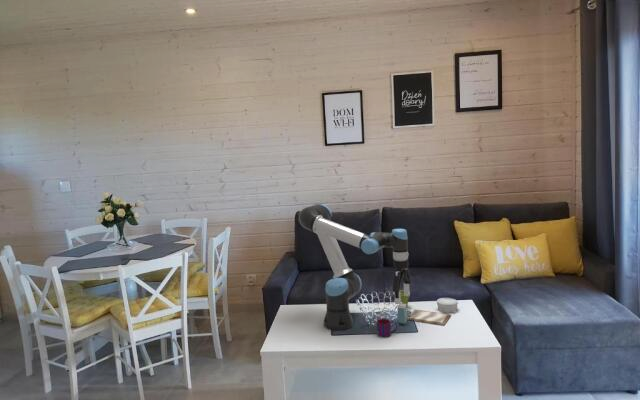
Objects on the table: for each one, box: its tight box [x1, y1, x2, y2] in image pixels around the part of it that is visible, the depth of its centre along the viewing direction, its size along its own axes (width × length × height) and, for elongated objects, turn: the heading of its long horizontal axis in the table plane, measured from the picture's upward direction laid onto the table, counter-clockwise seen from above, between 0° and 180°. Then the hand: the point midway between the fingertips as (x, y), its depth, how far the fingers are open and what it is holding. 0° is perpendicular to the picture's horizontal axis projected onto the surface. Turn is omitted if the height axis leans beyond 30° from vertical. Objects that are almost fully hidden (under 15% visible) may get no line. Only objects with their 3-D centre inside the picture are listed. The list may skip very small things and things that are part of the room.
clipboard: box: [407, 309, 452, 327], centre depth 234 cm, size 20×15×1 cm
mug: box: [376, 318, 398, 338], centre depth 216 cm, size 7×10×7 cm
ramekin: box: [436, 297, 459, 314], centre depth 244 cm, size 11×11×5 cm
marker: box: [397, 303, 408, 326], centre depth 228 cm, size 3×3×10 cm
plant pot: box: [392, 290, 411, 310], centre depth 251 cm, size 9×9×9 cm
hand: (402, 299), depth 227 cm, fingers open, 13 cm apart
